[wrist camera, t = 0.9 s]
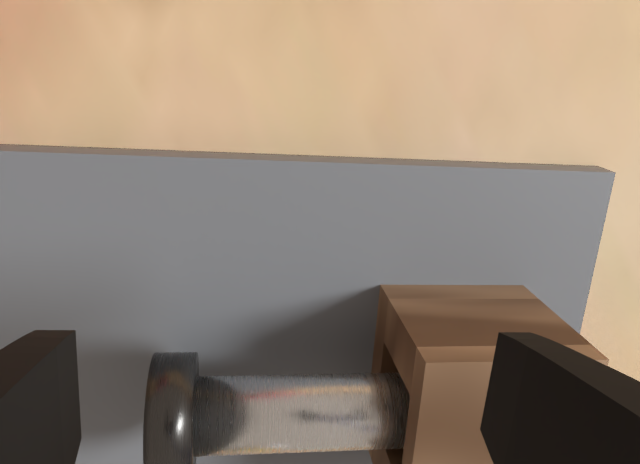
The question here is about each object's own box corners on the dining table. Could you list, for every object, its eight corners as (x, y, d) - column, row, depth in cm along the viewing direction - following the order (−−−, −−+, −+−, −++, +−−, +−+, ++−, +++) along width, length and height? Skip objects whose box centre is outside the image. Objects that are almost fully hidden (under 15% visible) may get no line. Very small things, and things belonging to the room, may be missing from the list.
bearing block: (495, 433, 22) (564, 539, 17) (364, 438, 21) (400, 550, 17) (523, 285, 20) (608, 359, 15) (380, 284, 19) (425, 362, 15)
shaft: (469, 420, 21) (516, 496, 17) (161, 430, 19) (144, 516, 16) (485, 328, 19) (538, 389, 16) (158, 330, 18) (140, 399, 14)
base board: (527, 497, 24) (539, 515, 24) (14, 524, 21) (4, 546, 21) (597, 166, 20) (615, 172, 19) (-32, 142, 17) (-48, 148, 16)
